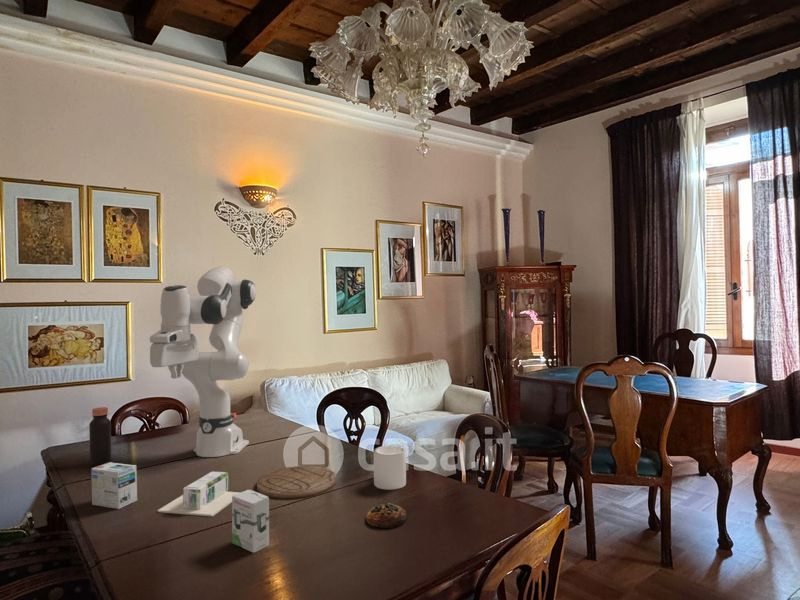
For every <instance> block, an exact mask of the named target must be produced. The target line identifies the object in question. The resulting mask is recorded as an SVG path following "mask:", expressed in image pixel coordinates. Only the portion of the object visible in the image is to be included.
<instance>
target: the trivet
mask: <svg viewBox="0 0 800 600" xmlns="http://www.w3.org/2000/svg"><path fill="white" fill-rule="evenodd" d="M336 483H337V474H336V473H335V472H334V471H332V470H331V469H329V468H326V467H323V466H322V467H321V466H314V465H297V466H289V467H288V466H287V467H282V468H278V469H274V470H272V471H269V472H267V473H265V474H263V475H262V476H260V477H259V478H258V479H257V481H256V488H257V489H256V490H257V492H258V493H260V494H263V495H265V496H268V497H269V498H273V499H281V500H282V499H283V500H292V499H293V500H294V499H296V500H297V499H303V498H304V499H305V498H310V497H314V496H318V495H321V494H324V493H326V492H328V491H329V490H331V489H333V488H334V487H335V485H336Z"/></svg>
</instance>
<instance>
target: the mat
mask: <svg viewBox="0 0 800 600" xmlns="http://www.w3.org/2000/svg"><path fill="white" fill-rule="evenodd" d="M238 493H241V492H240V491H239V492H238V491H236V492H235V491H226V492H225V493H223V494H222V495H220V496H219V497H217V498H216V499H214V500H213V501H211V502H210V503H208V504H207V505H206V506H204V507H203V508H201V509H193V508H184V507H183V494H182V495H180V496H179V497H177V498H175V499H174V500H172V501H171V502H169V503H167V504H165V505H164V506H162V507H161V508H159V509H157V512H158V513H165V514H176V515H177V514H179V515H187V516H189V515H191V516H201V517H214V516H215V515H216V514H218V513H219V512H221V511H222V510H223V509H224V508H226V507H227V506H229V505H230V504H232V496H233V495H236V494H238Z"/></svg>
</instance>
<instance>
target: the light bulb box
mask: <svg viewBox="0 0 800 600" xmlns="http://www.w3.org/2000/svg"><path fill="white" fill-rule="evenodd" d="M137 481H138V479H137V465H136V464H125V463H117V462H112V461H111V462H109V463H107V464H104V465H98V466H95V467H92V468H91V505H92V506H99V507H105V508H110V509H115V510H116V509H117V510H120V509H122V508H125V507H126V506H128V505H130V504H132V503H135V502H137V501H138V486H137V485H138V482H137Z"/></svg>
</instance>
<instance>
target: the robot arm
mask: <svg viewBox="0 0 800 600" xmlns="http://www.w3.org/2000/svg"><path fill="white" fill-rule="evenodd" d="M196 287H197V292H198V294H199V295H190V294H189V288H188V286H186V285H180V284H179V285H177V284H176V285H169V286H165V287H164V288H163V289H162V292H161V297H160V316H161V324H160V330H158V331H157V332H156V333H154V334H152V335H150V337H149V342H150V343H151V345H150V347H149V362H150V366H151V367H152V368H164V367H167V368H168V371H169V372H170V375H171V376H170V378H171V379H179V378H182V376H183V377H184V378H185V379H187V380H188V381H189V382H190V383H191V384H192V385H193V387H194V388H195V391H196V392H197V395H198V400H199V412H200V413H199V414H200V416H199V418H198V427H199V429H198V430H197V431H196V443H195V446H196V447H194V448H193V452H195V454H196V455H197V456H198V457H200V458H216V457H217V458H218V457H223V456H228V455H234V454H235V455H236V454H239V453H240V452H241V451H242V450H243V449H244V448H246V446H247V445H249V443H250V441H249V440H248V439H244V438H243V437H244V435H243V430H242V429H241V428H240V427H239V426H237V425H236V424H235V423H234V419H236V418H237V413H235V412H234V413H232V412H231V396H230V394H229V392H228V391H226V390H224V389H223V388H221V387H220V386H219V385H218V383H217V381H235V380H239V379H242V378H244V377H245V376H246V375H247V373H248V371H249V360H248V358H247V357H246V355H245V354H244V353H242V352H241V351H240V350H239V347H238V343H239V338H240V334H241V330H242V326H243V320H244V312H243V310H248V307H249V306H250V305H252V304H253V302H254V301H255V299H256V295H257V290H256V285H255V283H254V282H253V281H252V280H249V279H246V278H245V279H235V275H234V273H233V271H232V270H231V269H230V268H229V267H227V266H222V265H221V266H219V265H218V266H217V267H213V268H211V269H210V270H208V271H206V272H205V273H204V274H203V275H201V277H200V278H199V279H198V281H197V285H196ZM202 324H205V325H206V324H207V325H212V327H211V331H210V334H209V337H208V340H209V345H211V347H212V348H214V349H215V350H217V351H207V352H205V351H202V352H201V351H199V344H198V340H197V338H196V336H195V335H194V334H193V333H191V325H202Z"/></svg>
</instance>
